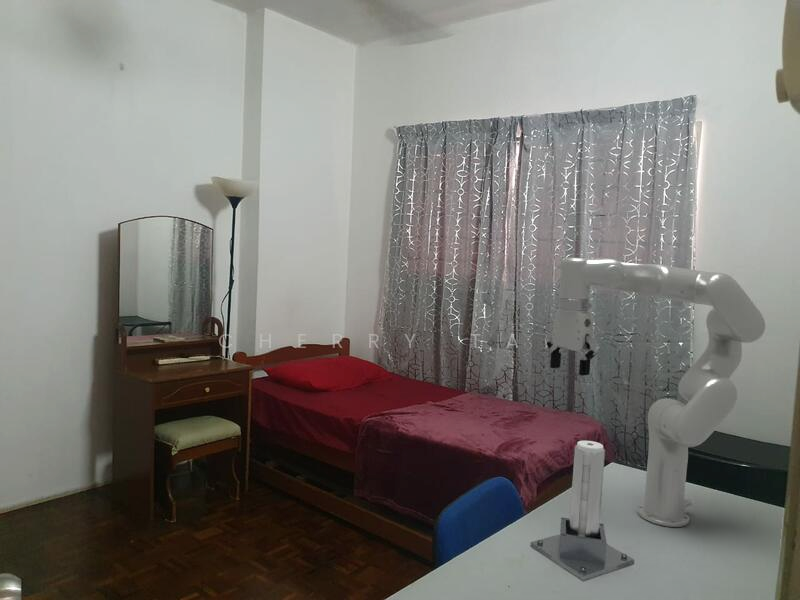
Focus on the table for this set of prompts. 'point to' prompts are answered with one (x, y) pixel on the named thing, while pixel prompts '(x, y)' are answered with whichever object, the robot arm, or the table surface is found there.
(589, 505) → the air filter
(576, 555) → the metal base plate
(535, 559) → the table surface
